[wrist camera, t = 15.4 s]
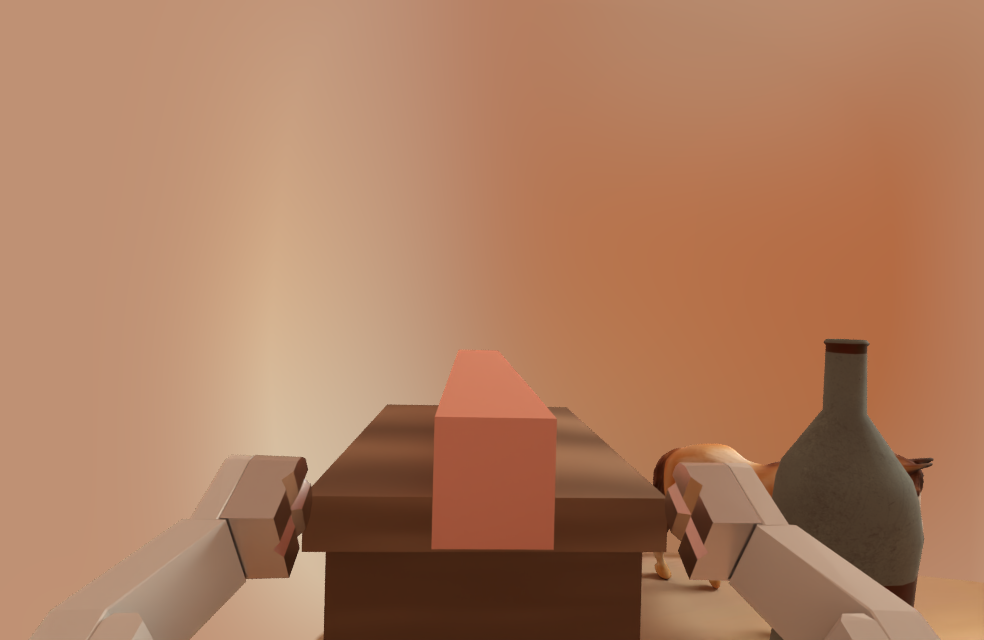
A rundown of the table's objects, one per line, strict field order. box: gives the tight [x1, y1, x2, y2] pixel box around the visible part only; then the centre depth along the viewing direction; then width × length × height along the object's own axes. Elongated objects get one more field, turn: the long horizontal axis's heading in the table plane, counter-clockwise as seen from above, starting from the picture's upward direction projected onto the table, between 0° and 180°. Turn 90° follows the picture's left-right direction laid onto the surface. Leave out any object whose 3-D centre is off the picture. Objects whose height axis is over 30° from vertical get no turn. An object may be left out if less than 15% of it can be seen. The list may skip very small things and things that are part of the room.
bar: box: [431, 350, 557, 550], centre depth 21 cm, size 22×3×3 cm, turn 3°
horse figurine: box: [653, 444, 933, 589], centre depth 53 cm, size 31×8×21 cm, turn 25°
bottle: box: [770, 339, 924, 640], centre depth 37 cm, size 9×9×30 cm
